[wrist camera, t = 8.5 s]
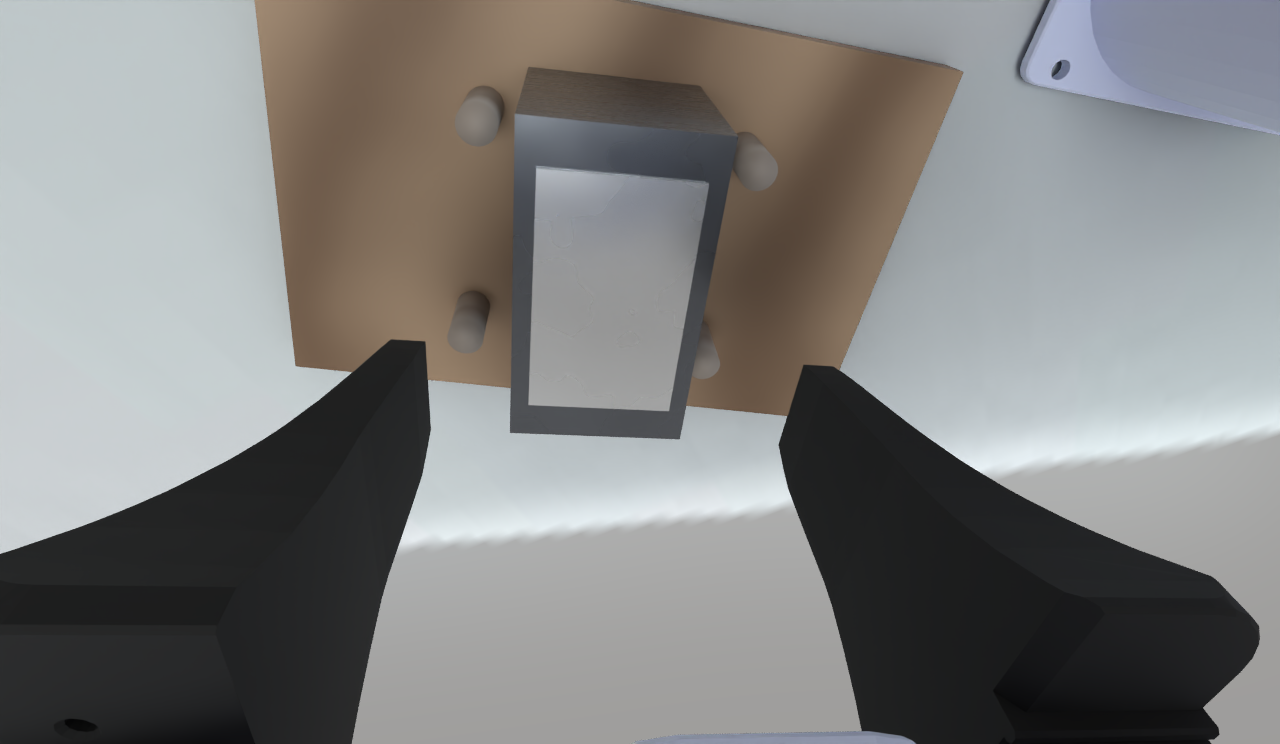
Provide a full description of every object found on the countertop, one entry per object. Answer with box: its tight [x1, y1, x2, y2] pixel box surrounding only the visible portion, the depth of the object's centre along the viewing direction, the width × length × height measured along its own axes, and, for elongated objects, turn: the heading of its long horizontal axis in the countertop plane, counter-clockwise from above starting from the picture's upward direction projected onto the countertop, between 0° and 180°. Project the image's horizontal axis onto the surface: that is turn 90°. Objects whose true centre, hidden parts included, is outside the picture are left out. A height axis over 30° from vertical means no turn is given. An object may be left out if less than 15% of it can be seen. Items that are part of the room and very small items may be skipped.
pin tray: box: [255, 0, 963, 416], centre depth 19 cm, size 18×12×3 cm, turn 79°
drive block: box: [510, 67, 738, 439], centre depth 18 cm, size 4×8×5 cm, turn 173°
